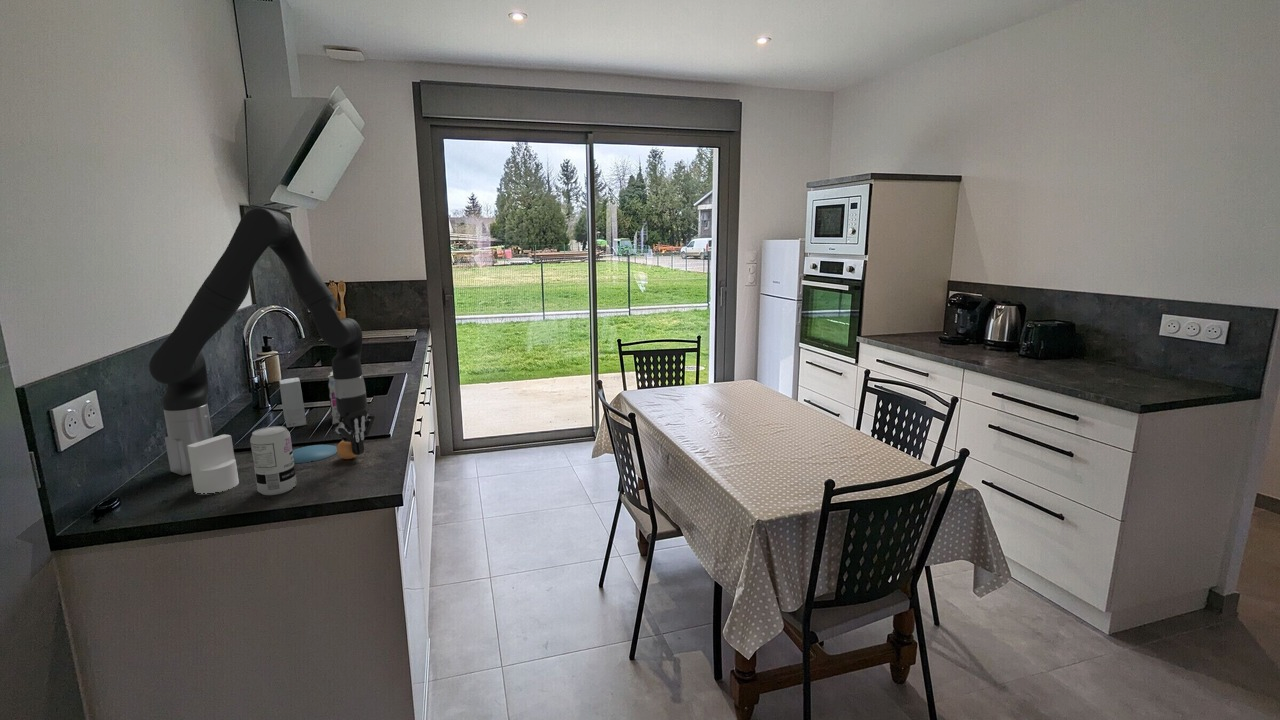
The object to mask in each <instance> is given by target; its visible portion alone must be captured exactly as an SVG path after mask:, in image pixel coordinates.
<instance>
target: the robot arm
mask: <svg viewBox="0 0 1280 720" xmlns="http://www.w3.org/2000/svg"><path fill="white" fill-rule="evenodd" d="M301 243H302V242H301V241H300V239H299V237H298V235H297V232H296V231H295V228H294V226H293V225H292V222H291V221H290V220H289V218H288V217H287V216H286V215H285V214H283V213H282V212H279V211H276V210H272V209H269V208H263V207H255V208H251V209H249V210H248V211H247V212H246V213H245V214H243V216H242V217H241V219H240V221H239V223H238V225H237V227H236V229H235V231H234V233H233V235H232V237H231V239H230V240H229V243H228V244H227V246H226V248H225V249H224V251H223V253H222V255H221V256H220V258H219V259H218V261H217V262H216V263H215V265H214V267H213V268H212V270H211V271H210V273H209V274H208V276H207V277H206V278H205V279H204V282H203V283H202V284H201V286H200V287H199V289H198V290H197V292H196V294H195V295H194V297H193V299H192V300H191V302H190V303H189V305H188V307H187V308H186V310H185V311H184V313H183V315H182V317H181V318H180V320H179V322H178V324H177V325H176V327H175V328H174V329H173V331H172V332H171V334H170V335H168V336H167V338H166V339H165V341H164V342H163V343H162V344H161V345H160V346H159V348H157V350H156V351H155V352H154V354H153V355H152V356H151V358H150V361H149V365H148V366H149V367H148V369H149V373H150V375H151V377H152V378H153V379H154V380H155V381H156V382H159V383H161V384H166V385H167V387H166V392H165V394H164V395H163V397H162V399H161V402H162V408H163V413H164V415H163V416H164V420H165V426H166V432H167V436H165V437H164V441H165V447H166V452H167V459H168V464H169V469H170V472H172V473H174V474H177V475H180V476H185V475H190V474H191V465H190V459H189V453H188V447H187V445H190V444H194V443H197V442H200V441H203V440H207V439H210V438H213V437H214V435H213V429H212V423H211V416H210V410H209V405H208V393H209V381H208V371H207V364H206V359H205V356H204V354H203V353H202V350H203V348H204V347H205V345H206V344H207V342H209V340H210V339H211V338H212V337H213V336H215V334H216V333H218V332H219V331H220V330H221V329H222V328H223V327H224V326H225V325H226V324H227V323H228V322H229V321H230V320H231V319H232V318H233V316H234V315H235V314H236V312H238V310H239V309H240V307H241V305H242V304H243V302H244V301H245V299H246V298H247V295H248V292H249V289H250V285H251V278H252V273H253V270H254V267H255V266H256V264H257V262H258V260H259V259H260V258H261V256H262V255H263V253H264V252H265V251H266V250H267V249H268V247H269V248H270V249H271V250H272V251H273V252H274V253H275V254H276V256H277V257H278V258H279V260H280V261H281V262H282V264H283V265H284V267H285V268H286V270H287V273H288V275H289V278H290V281H291V284H292V287H293V288H294V291H295V292H296V294H297V296H298V297H299V299H300V300H301V302H302V304H304V306H305V307H306V308H307V311H309V313H310V314H311V317H312V320H313V322H314V325H315V327H316V330H317V332H318V335H319V336H320V338H321V339H322V341H324V343H325V344H327V345H328V346H329V347H331V348H335V349H337V350H336V355H335V356H333V358H332V359H331V369H332V370H331V371H333V378H334V393H335V400H336V407H337V411H338V412H339V414H340V418H339V422H340V423H339V424H337V426H335V427H333V428H332V431H333V433H335V434H336V435H337V436H338V437H339V438H340V439H341V441H342V440H343V441H345V442H351V446H352V452H353V453H354V454H355V455H356V456H359V455H360V456H361V455H362V454H364V453H365V452H364V450H365V445H364V440H365V438H366V437H368V436H369V434H370V431H371V429H372V426H373V424H374V420H375V419H376V418H375V415H370V414H369V413H368V410H367V408H368V407H369V406H368V399H367V391H366V390H367V389H366V383H365V379H364V375H363V369H362V363H361V356H362V349H363V348H362V347H363V330H362V328H361V326H360V323H358V322H357V321H356V319H354V318H351V317H345V318H344V317H343V318H341V319H340V317H339V315H338V313H337V311H336V310H337V309H338V308H339V303H338V300H337V299H336V297H335V296H334V295H333V294H334V293H332V291H331V290H330V288H329V287H328V286H327V284H326V283H325V282H324V281H323V278H322V277H321V276H320V274H319V272H317V269H316V267H315V266H314V265H313V263H312V262H311V260H310V259H309V256H308V255H307V253H306V251H305V249H304V247H303V245H302V244H301ZM191 475H192V474H191Z"/></svg>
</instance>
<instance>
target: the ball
mask: <svg viewBox="0 0 1280 720" xmlns="http://www.w3.org/2000/svg"><path fill="white" fill-rule="evenodd" d="M336 447H337V453H336V454H337V455H338V456H339V457H340V458H341V459H343V460H344V459H345V460H350V459H351V460H352V459H354V458H355V457H356V456H357V455H355V454H354V453H353V452H352V446H351V442H345V441H343V440H342V439H341V441H340V442H339V443H338V444H337V446H336Z"/></svg>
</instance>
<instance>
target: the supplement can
mask: <svg viewBox="0 0 1280 720" xmlns="http://www.w3.org/2000/svg"><path fill="white" fill-rule="evenodd" d="M249 442H250V447H251V454H252V462H253V467H254V468H253V469H254V474H255V482H256V483H255V484H256V488H257V492H258V493H260V494H262V495H264V496H275V495H276V496H277V495H281V494H284V493H287V492H289V491H291V490H293V489H294V488H293V487H295V486H296V485H297V483H298V482H297V474H296V468H295V467H296V466H295V463H294V459H293V451H292V450H293V444H292V438H291V433H290V431H289V430H288V429H287V426H281V425H276V426H275V425H274V426H267V427H261V428H259V429H256V430H254V431H253V432H252V433H251V437H250V438H249Z"/></svg>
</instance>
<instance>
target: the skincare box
mask: <svg viewBox="0 0 1280 720" xmlns="http://www.w3.org/2000/svg"><path fill="white" fill-rule="evenodd" d="M278 382H279V388H280V389H279V390H280V392H279V393H280V398H281V405H282V410H283V411H282V413H283V416H284V417H283V419H284V422H285V425H286V426H285V427H286V428H292V427H293V428H294V427H301V426H306V425H308V423H307V418H306V413H305V406H304V399H303V392H302V387H301V386H302V385H301V381H300V378H299V377H291V378H285V379H279V381H278Z"/></svg>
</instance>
